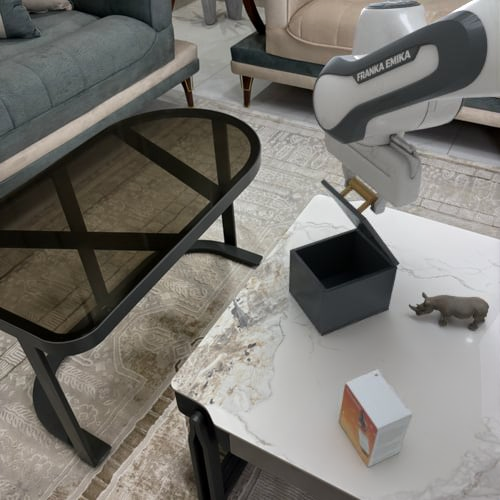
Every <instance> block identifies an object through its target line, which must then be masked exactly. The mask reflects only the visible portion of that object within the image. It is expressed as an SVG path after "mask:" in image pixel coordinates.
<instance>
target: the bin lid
mask: <svg viewBox="0 0 500 500" xmlns="http://www.w3.org/2000/svg"><path fill="white" fill-rule="evenodd" d="M320 184H321V185H322V186H323V188H324V189H325V190H326V191H327V193H328V194H329V196H331V198H332V199H333V200H334V202H335V203H336V204H337V206H338V207H339V208H340V209H341V210H342V212H343V213H344V214H345V216H346V217H347V218H348V220H349V221H350V222H351V223H352V224H353V226H354V227H355V228H357V229H358V230H359V231H360V232H361V233H362V234H363V235H364V236H365V237H366V238H367V239H368V240H369V241H371V242H372V243H373V244H374V245H375V246H376V247H377V248H378V249H379V250H380V251H381V252H382V253H383V254H384V255H385V256H386V257H387V258H388V259H389V260H390V261H391V262H392V263H393V264H394V265H395V266H397V267H398V266H399V265H400V262H399V260H398V259H397V258H396V256H395V254H393V252H392V251H391V249H390V248H389V247H388V245H387V244H386V243H385V241H384V240H383V238H382V237H381V235H379V233H378V232H377V230H376V229H375V228H374V226H373V225H372V223H370V220H369V219H368V218H367V217H366V216H365V215H363V214H362V213H363V212H364V211H366V210H367V209H368V208H370V207H371V201H374V200H377V199H378V198H379V197H377V196H376V194H377V193H376V192H375V191H374V190H373V189H372V188H371V187H369V186H367V185H366V183H365V182H363V181H362V180H361V179H360V178H359V177H357V176H356V177H354V178H352V179H351V180H350V181H349V185H348V186H347V187H344V189H343V190H342V191H341V192H339V191H338V190H337V189H336V188H335V187H333V186H332V185H331V184H330V183H329V182H328V181H327V180H325V178H323V179H322V180H321V181H320ZM352 189H353V190H352ZM351 190H352V191H354V192H355V193H356V194H357V195H359V196H360V197H361V198H362V199H363V200H364V202H362V204H361V205H359V207H357V208H356V207H355V206H354V205H353V204H351V202H349V200H347V199H346V196H347V195H349V193H350V192H352V191H351Z"/></svg>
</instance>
